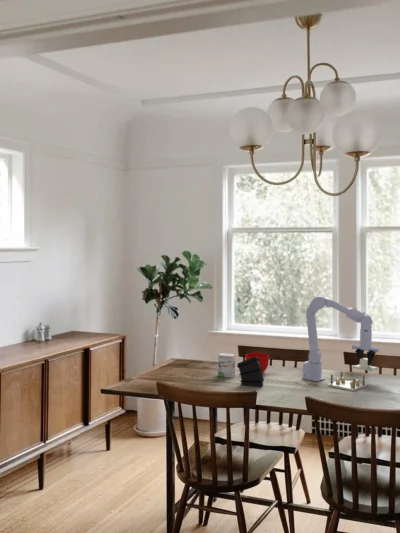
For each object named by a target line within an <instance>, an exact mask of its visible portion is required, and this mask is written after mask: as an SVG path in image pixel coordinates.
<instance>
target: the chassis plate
mask: <svg viewBox="0 0 400 533" xmlns="http://www.w3.org/2000/svg"><path fill="white" fill-rule="evenodd" d="M333 376H334V375H333V374H330V383H328V384H327V387H330V388H336V389H340V390H345V391H350V392H355V391H358V390H361V389H363V388H366V387H367V388H368V384H366V383H365V379H366V378H365V377H366V376H365V375H362V383H361V382H360V381H361V380H360V379H357V378H352V380H346V377H345V376H343V371H340V378H339V377H337V378H335V381H334V377H333Z"/></svg>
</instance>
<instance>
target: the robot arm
mask: <svg viewBox="0 0 400 533" xmlns="http://www.w3.org/2000/svg"><path fill="white" fill-rule="evenodd" d="M324 307H325V308H332V309H335V310H337V311H339V312H341V313H344V314H345V315H346V317H347V318H348V319H349V320H351V321H353V322H355V323H357V324H358V323H360V330H359V331H360V332H359V344H352V345H351V349H352V350H355V353H356V356H357V358H358V362H359V364H360V359H361V358H364V354H365V351H366V355H367V357H366V358H368V365H371V366H372V363H373V359H374V357H375V355H376V353H378V354H379V353H380V351H381V350H380V348H379V347H376V346H375V347H374V346H372V342H373V341H372V338H373V337H372V335H373V332H372V331H373V330H372V329H373V328H372V325H373V319H372V317H371V316H370V315H369V314H366V312H365V311H364V312H362V311H360V310H358V309H357V307H347V306H345V305H343V304H341V303H339V302H337V301H336V300H334V299H331V298H329V297H326V296H324V295H322V294H321V295H320V294H318V295H316V296H315V297H314V298H313V299H312V300H311V302H310V303H309V305H308V307H307V308H306V311H305V316H306V326H307V336H308V345H309V353H308V356H307V357H308V360H307V361H304V362H303V365H302V377H301V379H304V380H306V381H307V380H308V381H314V382H319V381H322V380H325V379H326V378H325V377H323V376H322V375H323V374H322V373H323V372H322V370H323V368H322V366H323V362H322V360H321V359H322V358H321V357H322V351H321V350H320V347H319V340H318V339H319V338H318V331H317V321H316V314H317V313H318V312H319V311H320V310H321V309H323V308H324Z"/></svg>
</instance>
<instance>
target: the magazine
mask: <svg viewBox="0 0 400 533" xmlns="http://www.w3.org/2000/svg"><path fill="white" fill-rule="evenodd" d="M258 359H259V357H257V356H255V357H252V358H250V359H247V360H246V359H245V360H243V361H240V362H238V363H237V364H236V365H237V366H236V368H237V369H238V370H239V372H240V373H239V376H240V381H239V382H240V383H241V386H248V387H253V388H254V387H255V388H263V386H264V382H265V379H264V377H263V374H264V373H263V374H262V367H261V365H260V362H259V360H258Z"/></svg>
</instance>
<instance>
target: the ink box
mask: <svg viewBox="0 0 400 533" xmlns="http://www.w3.org/2000/svg"><path fill="white" fill-rule="evenodd" d="M217 357H218V358H217V376H218V377H224V378H230V379H231V378H232V379H233V378H234V377H235V376H236V354H234V353H225V352H221V353H219V354H218V355H217Z"/></svg>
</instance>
